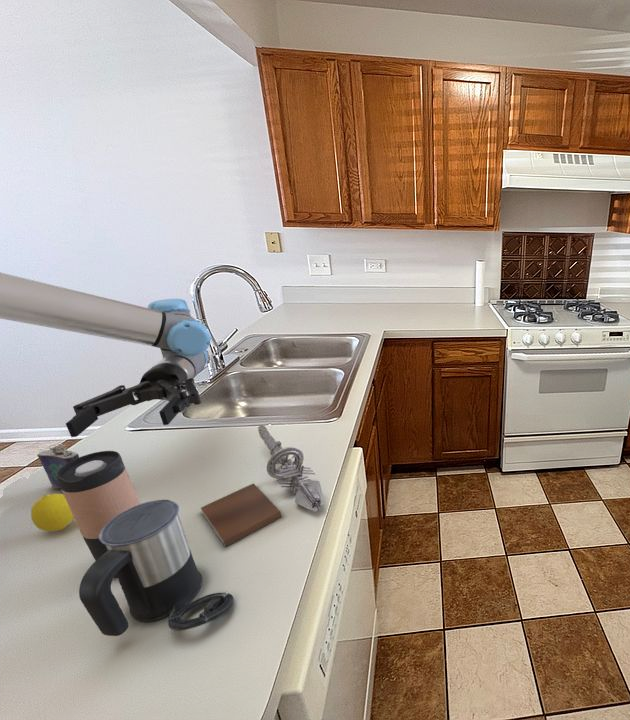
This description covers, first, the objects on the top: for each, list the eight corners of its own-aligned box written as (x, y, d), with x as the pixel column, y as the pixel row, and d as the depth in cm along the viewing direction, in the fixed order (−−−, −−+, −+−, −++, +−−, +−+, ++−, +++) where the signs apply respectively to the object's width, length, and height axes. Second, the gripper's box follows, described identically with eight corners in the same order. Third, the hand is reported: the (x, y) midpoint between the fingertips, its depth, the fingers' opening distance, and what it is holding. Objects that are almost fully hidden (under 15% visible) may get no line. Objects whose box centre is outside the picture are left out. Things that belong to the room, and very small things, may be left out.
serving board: (202, 513, 79) (200, 507, 79) (255, 488, 86) (253, 483, 86) (225, 547, 71) (223, 541, 71) (281, 517, 78) (280, 511, 78)
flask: (49, 489, 86) (30, 447, 83) (65, 480, 89) (47, 439, 85) (84, 494, 85) (65, 452, 81) (98, 485, 87) (81, 444, 84)
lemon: (51, 523, 77) (35, 489, 74) (87, 515, 79) (73, 482, 76) (33, 544, 72) (15, 509, 69) (72, 535, 74) (56, 501, 71)
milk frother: (151, 574, 66) (122, 503, 61) (254, 557, 69) (235, 488, 64) (94, 663, 53) (52, 583, 48) (224, 637, 56) (198, 558, 51)
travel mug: (145, 537, 74) (109, 445, 67) (165, 554, 70) (129, 458, 63) (92, 566, 68) (46, 469, 60) (110, 587, 64) (64, 485, 57)
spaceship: (278, 412, 102) (245, 412, 96) (343, 487, 80) (305, 492, 74) (270, 440, 103) (237, 441, 97) (332, 521, 81) (294, 529, 75)
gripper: (234, 386, 94) (204, 431, 75) (106, 400, 87) (38, 454, 68) (227, 356, 91) (194, 395, 72) (94, 369, 84) (20, 415, 65)
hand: (118, 424), depth 70 cm, fingers open, 13 cm apart
